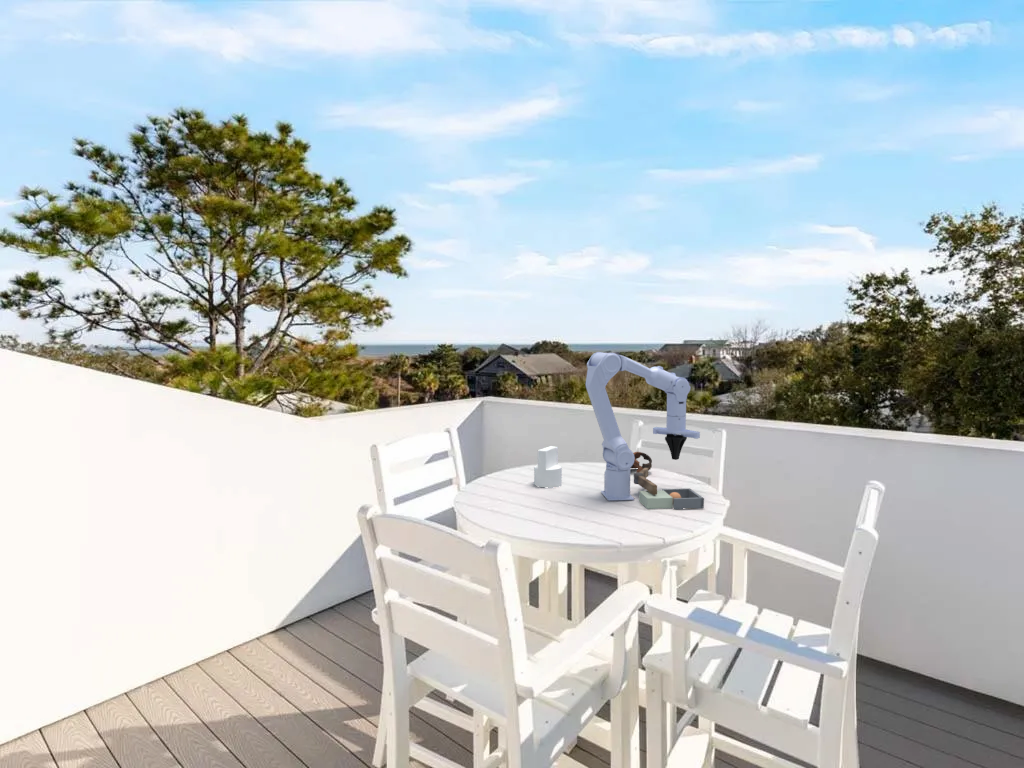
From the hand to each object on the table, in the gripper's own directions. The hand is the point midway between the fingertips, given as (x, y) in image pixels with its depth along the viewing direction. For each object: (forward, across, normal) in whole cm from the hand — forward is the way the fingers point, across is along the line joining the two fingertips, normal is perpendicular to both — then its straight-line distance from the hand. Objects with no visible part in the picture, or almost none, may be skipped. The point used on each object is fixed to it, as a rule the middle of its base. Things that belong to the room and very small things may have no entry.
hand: (675, 459), depth 184 cm
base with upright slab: (+11, +36, +18) cm, 42 cm away
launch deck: (+10, -2, +16) cm, 19 cm away
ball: (+9, -6, +12) cm, 16 cm away
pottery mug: (+11, +23, -16) cm, 30 cm away
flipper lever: (+7, +4, +8) cm, 12 cm away
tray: (+10, -7, +10) cm, 16 cm away
